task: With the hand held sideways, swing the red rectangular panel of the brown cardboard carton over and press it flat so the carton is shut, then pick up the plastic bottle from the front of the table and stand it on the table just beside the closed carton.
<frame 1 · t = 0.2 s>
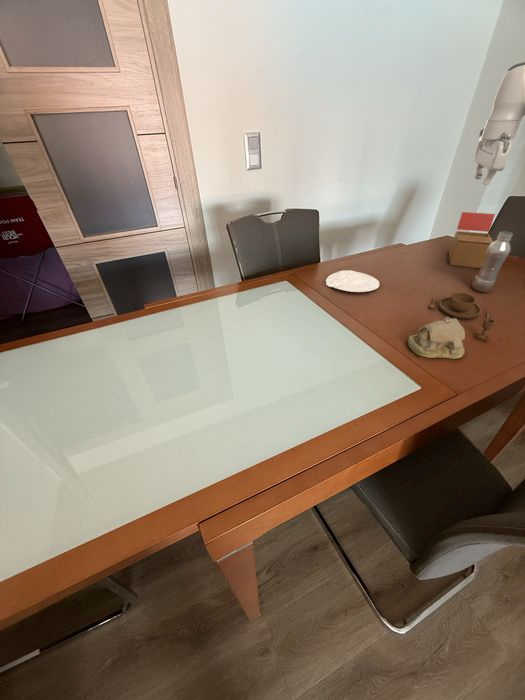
hand: (481, 181, 103), 31 cm above the table, tool pointing down, fingers open, 8 cm apart
red rectangular panel: (475, 221, 126), point 13 cm above the table, hinge at 110.0°
plaque: (352, 283, 117), on the table
carton: (464, 259, 128), on the table
ceramic model: (434, 348, 85), on the table
plastic bottle: (480, 290, 109), on the table
place setting: (457, 317, 96), on the table
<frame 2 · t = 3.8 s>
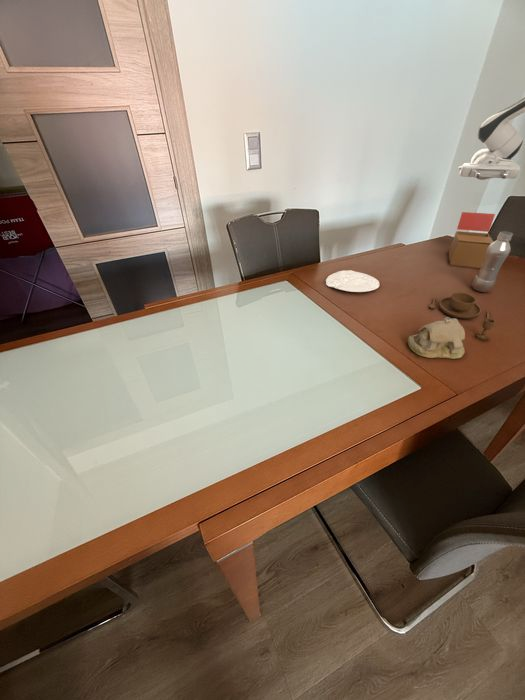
hand: (491, 175, 118), 30 cm above the table, tool horizontal, fingers open, 8 cm apart
nothing on the table moved.
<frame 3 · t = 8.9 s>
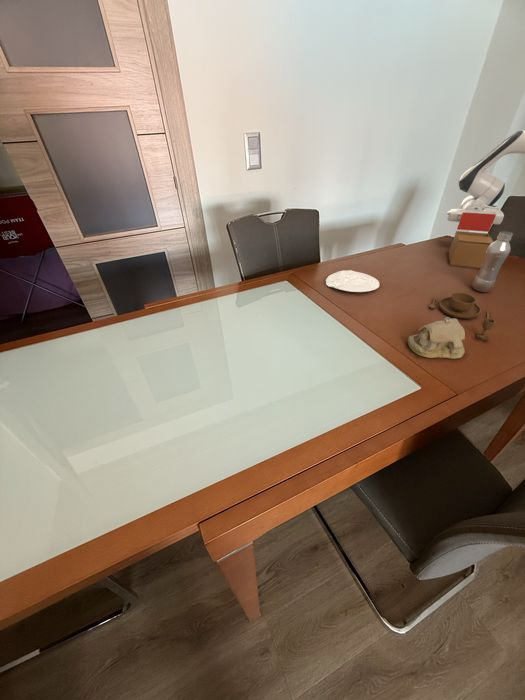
hand: (476, 222, 125), 13 cm above the table, tool horizontal, fingers closed, pressing on red rectangular panel
red rectangular panel: (475, 222, 125), point 13 cm above the table, hinge at 93.8°, touching gripper
everything else where it was.
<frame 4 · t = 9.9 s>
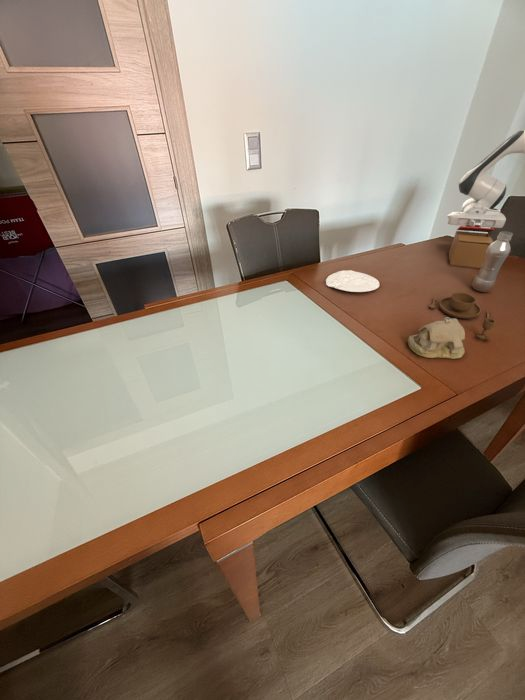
hand: (477, 225, 122), 13 cm above the table, tool horizontal, fingers closed
red rectangular panel: (474, 229, 124), point 12 cm above the table, hinge at 26.7°
everything else where it was.
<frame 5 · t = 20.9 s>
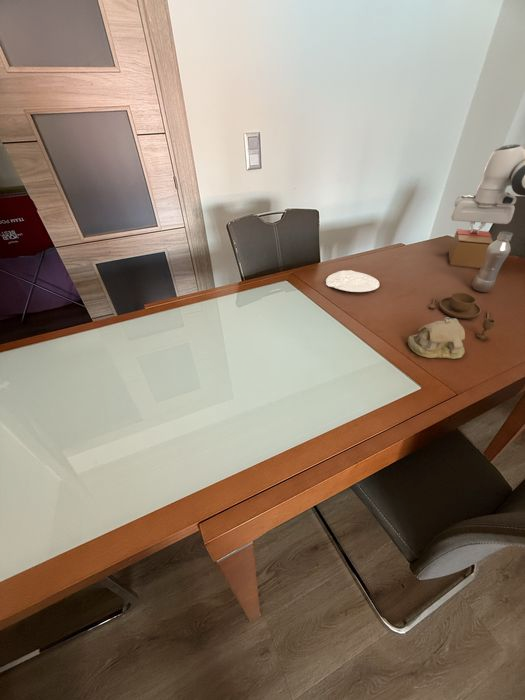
hand: (473, 233, 124), 10 cm above the table, tool pointing down, fingers closed, pressing on red rectangular panel
red rectangular panel: (473, 233, 124), point 10 cm above the table, hinge at 1.9°, touching gripper
everything else where it was.
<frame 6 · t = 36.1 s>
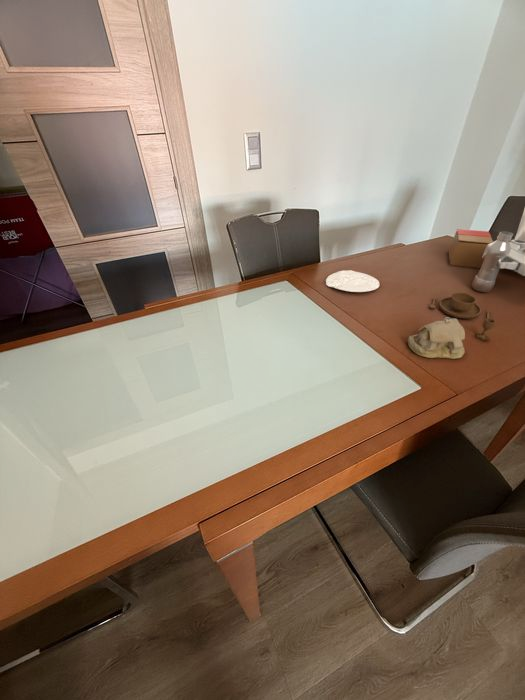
hand: (491, 260, 102), 11 cm above the table, tool horizontal, fingers closed on plastic bottle, 6 cm apart
red rectangular panel: (473, 233, 124), point 10 cm above the table, hinge at 0.9°
plastic bottle: (480, 290, 109), on the table, touching gripper
everything else where it was.
when the fingers open (11 cm above the table, at t = 41.7 s): plastic bottle stays where it is, on the table.
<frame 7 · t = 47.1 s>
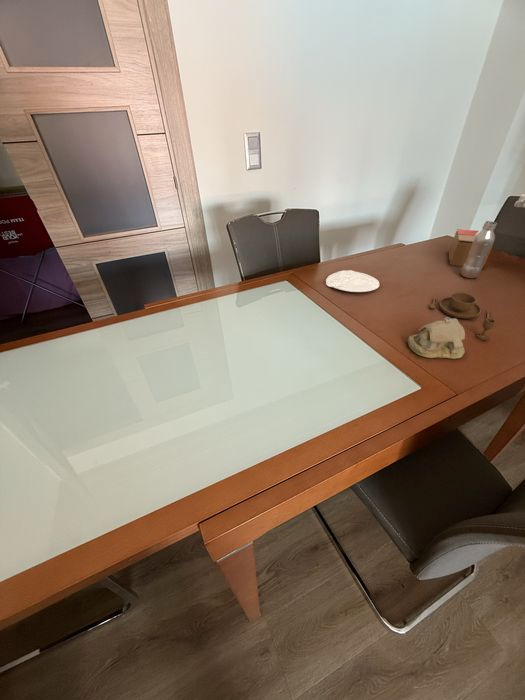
plastic bottle: (468, 276, 117), on the table
everything else where it was.
at the end: red rectangular panel at +1° (first picture: +110°); plastic bottle inside the target area on the table beside the carton (0.0 cm from its centre), on the table; plastic bottle tilted 0° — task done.
